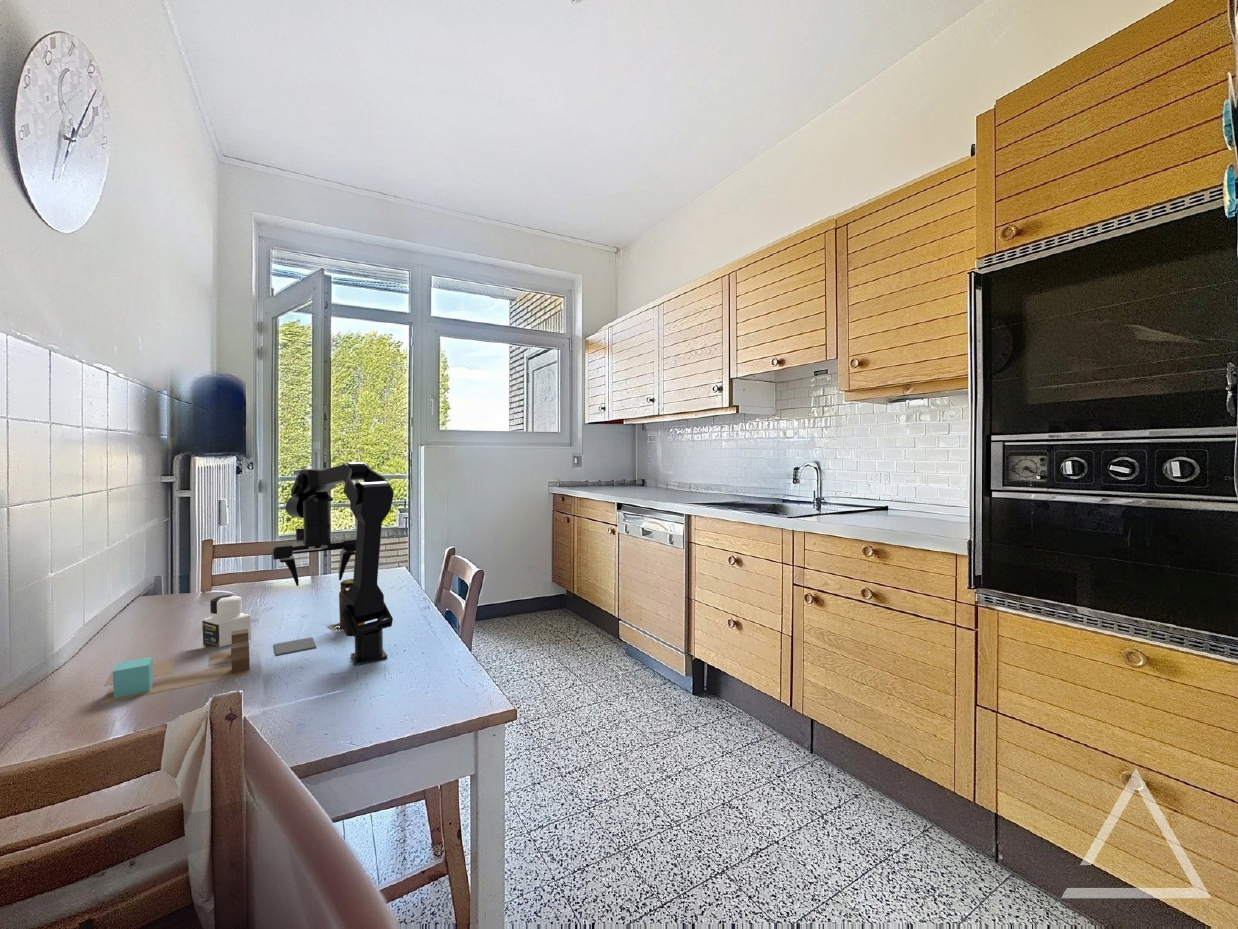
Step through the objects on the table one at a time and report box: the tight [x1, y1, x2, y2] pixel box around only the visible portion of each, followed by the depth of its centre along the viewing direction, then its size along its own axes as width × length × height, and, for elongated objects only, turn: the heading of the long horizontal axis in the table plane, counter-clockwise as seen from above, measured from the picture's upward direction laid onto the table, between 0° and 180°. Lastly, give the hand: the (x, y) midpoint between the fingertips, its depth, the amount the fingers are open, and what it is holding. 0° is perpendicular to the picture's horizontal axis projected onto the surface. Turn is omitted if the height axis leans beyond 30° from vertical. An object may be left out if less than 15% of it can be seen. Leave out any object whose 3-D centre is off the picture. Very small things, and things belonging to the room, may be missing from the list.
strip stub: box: [208, 629, 249, 667], centre depth 119 cm, size 8×7×6 cm
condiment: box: [327, 578, 367, 634], centre depth 143 cm, size 7×8×12 cm
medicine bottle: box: [201, 594, 252, 649], centre depth 129 cm, size 7×7×12 cm
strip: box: [100, 640, 251, 705], centre depth 106 cm, size 8×22×6 cm, turn 125°
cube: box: [112, 656, 154, 699], centre depth 102 cm, size 5×5×5 cm
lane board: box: [104, 660, 176, 687], centre depth 108 cm, size 21×21×2 cm
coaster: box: [273, 636, 317, 657], centre depth 128 cm, size 8×8×1 cm
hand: (319, 582), depth 134 cm, fingers open, 9 cm apart
